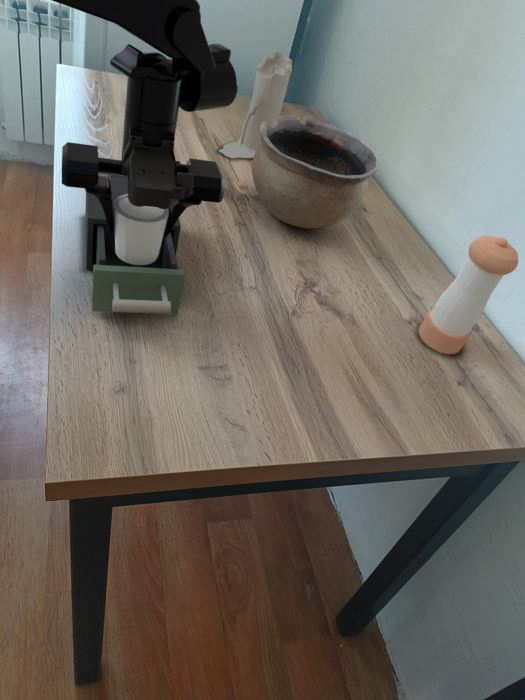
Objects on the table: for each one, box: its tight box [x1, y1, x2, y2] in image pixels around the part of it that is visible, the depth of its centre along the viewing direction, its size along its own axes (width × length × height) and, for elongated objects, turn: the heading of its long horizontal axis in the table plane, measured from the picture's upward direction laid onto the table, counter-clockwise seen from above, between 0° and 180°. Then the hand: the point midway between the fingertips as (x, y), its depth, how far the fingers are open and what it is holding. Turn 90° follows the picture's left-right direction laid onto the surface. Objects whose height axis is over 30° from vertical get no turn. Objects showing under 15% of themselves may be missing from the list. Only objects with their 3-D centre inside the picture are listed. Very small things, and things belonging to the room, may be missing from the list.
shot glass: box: [114, 194, 169, 265], centre depth 70 cm, size 7×7×7 cm
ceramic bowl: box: [251, 114, 380, 229], centre depth 100 cm, size 22×22×15 cm
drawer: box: [91, 224, 186, 315], centre depth 73 cm, size 17×11×7 cm, turn 14°
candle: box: [218, 49, 293, 159], centre depth 114 cm, size 7×14×20 cm, turn 138°
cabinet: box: [84, 177, 182, 271], centre depth 82 cm, size 14×13×9 cm
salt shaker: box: [418, 235, 519, 355], centre depth 81 cm, size 7×7×19 cm
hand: (138, 233), depth 70 cm, fingers closed on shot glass, 6 cm apart
